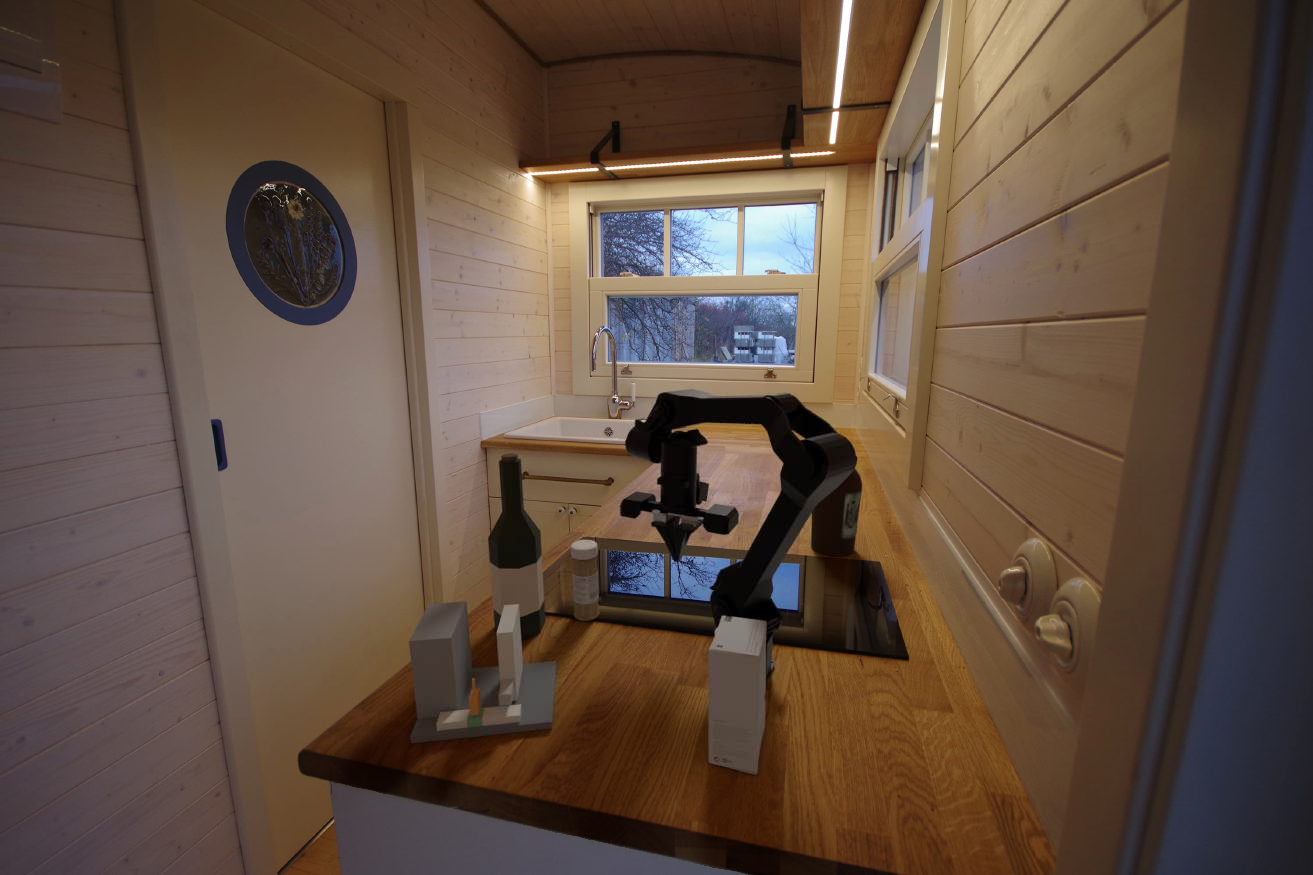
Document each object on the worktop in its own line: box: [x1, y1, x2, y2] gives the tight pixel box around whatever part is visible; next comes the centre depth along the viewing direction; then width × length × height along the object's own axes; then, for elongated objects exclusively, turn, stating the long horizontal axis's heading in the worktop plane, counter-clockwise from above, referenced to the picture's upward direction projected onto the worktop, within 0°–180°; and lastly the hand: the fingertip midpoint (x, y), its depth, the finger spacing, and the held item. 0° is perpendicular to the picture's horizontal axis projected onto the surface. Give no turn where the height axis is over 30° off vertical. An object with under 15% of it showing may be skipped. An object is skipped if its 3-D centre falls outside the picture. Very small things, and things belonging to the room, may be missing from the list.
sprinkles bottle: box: [570, 539, 600, 622], centre depth 92 cm, size 5×5×13 cm
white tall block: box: [496, 604, 524, 706], centre depth 70 cm, size 2×10×10 cm, turn 8°
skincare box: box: [707, 616, 767, 776], centre depth 63 cm, size 8×6×15 cm
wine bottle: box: [487, 452, 546, 641], centre depth 86 cm, size 8×8×30 cm
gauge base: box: [408, 600, 558, 744], centre depth 70 cm, size 17×12×12 cm
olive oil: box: [810, 468, 863, 557], centre depth 118 cm, size 11×11×25 cm
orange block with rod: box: [469, 678, 481, 715], centre depth 66 cm, size 1×2×4 cm, turn 8°
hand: (677, 560), depth 87 cm, fingers closed
